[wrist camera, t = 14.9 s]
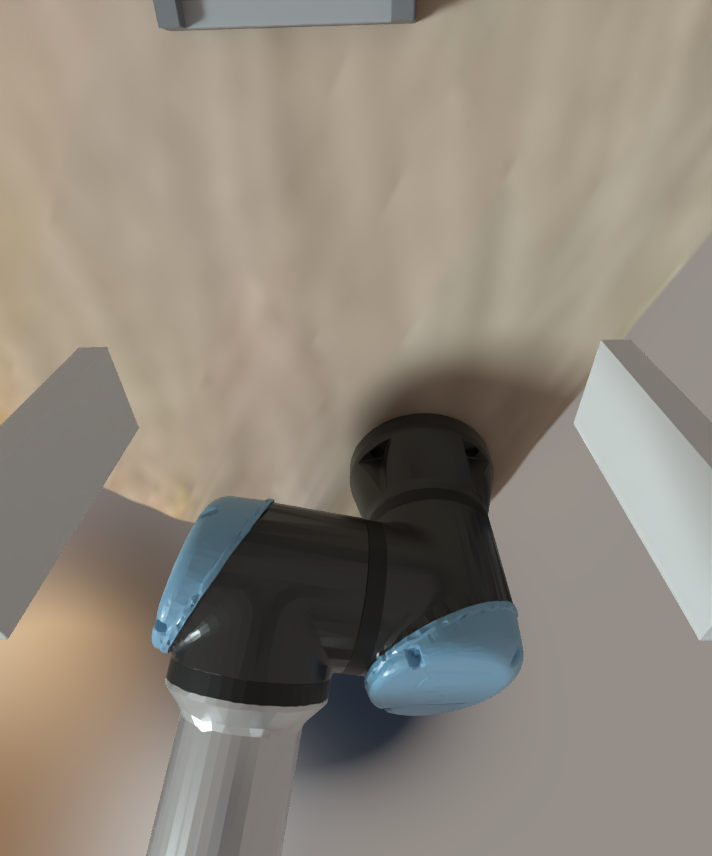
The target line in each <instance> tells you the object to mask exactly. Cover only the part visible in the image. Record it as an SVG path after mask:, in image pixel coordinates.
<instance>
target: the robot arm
mask: <svg viewBox="0 0 712 856" xmlns="http://www.w3.org/2000/svg"><path fill="white" fill-rule="evenodd" d="M574 426H575V427H576V429H577V431H578V432H579V434H580V436H581V437H582V439H583V441H584V443H585V445H586V446H587V448H588V450H589V451H590V453H591V455H592V456H593V458H594V460H595V462H596V463H597V465H598V467H599V469H600V470H601V472H602V473H603V475H604V477H605V479H606V480H607V482H608V484H609V485H610V487H611V489H612V491H613V493H614V494H615V496H616V497H617V499H618V501H619V503H620V505H621V506H622V508H623V510H624V511H625V513H626V515H627V517H628V518H629V520H630V522H631V523H632V525H633V527H634V528H635V530H636V532H637V534H638V535H639V537H640V539H641V541H642V542H643V544H644V546H645V547H646V549H647V550H648V553H649V554H650V556H651V558H652V559H653V561H654V563H655V565H656V566H657V568H658V570H659V571H660V573H661V575H662V577H663V578H664V580H665V582H666V583H667V585H668V587H669V589H670V590H671V592H672V594H673V595H674V597H675V599H676V601H677V602H678V604H679V606H680V607H681V609H682V611H683V612H684V614H685V616H686V618H687V619H688V621H689V623H690V625H691V626H692V628H693V629H694V631H695V633H696V635H697V637H698V638H699V640H712V423H711V422H710V421H709V420H708V419H707V418H706V417H705V416H704V415H703V414H702V413H701V412H700V411H699V410H698V408H697V407H696V406H694V405H693V403H692V402H691V401H690V400H689V399H688V398H687V397H686V396H685V395H684V394H683V393H682V392H681V391H680V390H679V389H678V388H677V387H676V386H675V385H674V384H673V383H672V382H671V381H670V380H669V379H668V378H667V377H666V376H665V375H664V373H663V372H662V371H661V370H660V369H659V368H658V367H657V366H656V365H655V364H654V363H653V362H652V361H651V360H650V359H649V358H648V357H647V356H646V355H645V354H644V353H643V352H642V351H641V350H640V349H639V348H638V347H637V346H636V345H635V344H634V343H633V342H632V340H601V342H600V345H599V348H598V351H597V354H596V357H595V360H594V363H593V366H592V369H591V372H590V375H589V378H588V381H587V384H586V387H585V390H584V393H583V396H582V399H581V402H580V405H579V408H578V411H577V414H576V417H575V420H574ZM138 429H139V427H138V425H137V422H136V420H135V417H134V414H133V412H132V409H131V407H130V404H129V402H128V399H127V397H126V394H125V392H124V389H123V386H122V384H121V381H120V379H119V376H118V374H117V371H116V369H115V366H114V364H113V361H112V358H111V356H110V353H109V351H108V348H107V347H91V348H78V349H77V350H76V351H75V352H74V353H73V354H72V355H71V356H70V357H69V358H68V359H67V360H66V361H65V362H64V363H63V364H62V365H61V366H60V367H59V368H58V369H57V370H56V371H55V372H54V373H53V374H52V375H51V376H50V377H49V378H48V379H47V380H46V381H45V382H44V383H43V384H42V385H41V386H40V387H39V388H38V389H37V390H36V391H35V392H34V393H33V394H32V395H31V396H30V397H29V398H28V399H27V400H26V401H25V402H24V403H23V404H22V405H21V406H20V407H19V408H18V409H17V410H16V411H15V412H14V413H13V414H12V415H11V416H10V417H9V418H8V419H7V420H6V421H5V422H4V423H3V424H2V425H1V426H0V639H8V638H9V636H10V635H11V633H12V632H13V630H14V628H15V627H16V625H17V623H18V622H19V620H20V619H21V617H22V615H23V614H24V612H25V611H26V609H27V608H28V606H29V604H30V603H31V601H32V599H33V598H34V596H35V595H36V593H37V591H38V590H39V588H40V587H41V585H42V583H43V582H44V580H45V579H46V577H47V575H48V574H49V572H50V570H51V569H52V567H53V566H54V564H55V562H56V560H57V559H58V557H59V556H60V554H61V553H62V551H63V549H64V548H65V546H66V545H67V543H68V541H69V539H70V538H71V537H72V535H73V533H74V532H75V530H76V528H77V527H78V525H79V524H80V522H81V520H82V519H83V517H84V516H85V514H86V512H87V511H88V509H89V508H90V506H91V504H92V503H93V501H94V500H95V498H96V496H97V495H98V493H99V491H100V490H101V488H102V487H103V485H104V483H105V482H106V480H107V479H108V477H109V475H110V474H111V472H112V471H113V469H114V467H115V466H116V464H117V462H118V461H119V459H120V458H121V456H122V454H123V453H124V451H125V450H126V448H127V446H128V445H129V443H130V442H131V440H132V438H133V437H134V435H135V433H136V432H137V430H138ZM492 484H493V466H492V462H491V459H490V456H489V453H488V450H487V447H486V445H485V443H484V441H483V440H482V438H481V437H480V436H479V435H478V434H477V433H476V432H475V431H474V430H473V429H472V428H470V427H469V426H467V425H466V424H464V423H462V422H460V421H458V420H455V419H453V418H449V417H446V416H441V415H434V414H416V415H408V416H403V417H399V418H396V419H393V420H390V421H388V422H386V423H384V424H382V425H380V426H378V427H377V428H375V429H374V430H372V431H371V432H370V433H368V434H367V435H366V436H365V437H364V438H363V439H362V440H361V442H360V443H359V444H358V446H357V447H356V449H355V451H354V453H353V456H352V459H351V464H350V487H351V492H352V495H353V498H354V500H355V502H356V505H357V507H358V509H359V512H360V514H361V516H362V518H358V517H352V516H347V515H341V514H335V513H330V512H324V511H318V510H312V509H307V508H301V507H295V506H290V505H284V504H278V503H274V500H273V499H267V500H257V499H249V498H241V497H233V496H227V497H221V498H219V499H216V500H215V501H213V502H212V503H210V504H209V505H208V506H207V507H206V508H205V509H204V510H203V512H202V513H201V514H200V516H199V517H198V519H197V521H196V522H195V524H194V526H193V527H192V529H191V531H190V533H189V535H188V537H187V539H186V541H185V543H184V545H183V547H182V549H181V551H180V554H179V556H178V558H177V560H176V562H175V565H174V567H173V569H172V572H171V574H170V577H169V579H168V582H167V585H166V588H165V590H164V593H163V596H162V599H161V601H160V605H159V608H158V612H157V619H156V622H155V625H154V628H153V632H152V642H153V645H154V646H155V647H156V648H158V649H160V650H161V652H162V653H169V652H170V651H171V660H170V664H169V668H168V672H167V676H166V680H165V683H166V686H167V687H168V689H169V691H170V692H171V694H172V695H173V697H174V698H175V700H176V702H177V703H178V705H179V708H180V716H179V720H178V725H177V729H176V733H175V737H174V741H173V745H172V750H171V754H170V758H169V762H168V766H167V771H166V775H165V779H164V783H163V787H162V791H161V796H160V800H159V804H158V808H157V812H156V816H155V821H154V825H153V829H152V833H151V837H150V842H149V846H148V850H147V854H146V856H281V853H282V847H283V841H284V835H285V829H286V822H287V816H288V810H289V804H290V797H291V792H292V785H293V779H294V773H295V767H296V761H297V755H298V748H299V742H300V736H301V730H302V726H303V724H304V723H305V722H306V721H307V720H308V719H309V718H311V717H312V716H313V715H314V714H315V713H316V712H318V711H319V710H320V709H321V708H322V707H323V706H325V705H326V703H327V700H328V694H329V687H330V681H331V676H332V674H333V673H344V674H352V675H360V676H364V677H365V689H366V690H367V692H368V696H369V698H370V700H371V702H372V703H373V704H374V705H375V706H377V707H378V708H384V709H385V710H386V711H387V712H389V713H394V714H398V715H411V716H415V715H416V716H419V715H432V714H440V713H446V712H450V711H455V710H459V709H463V708H466V707H469V706H472V705H475V704H478V703H480V702H483V701H485V700H487V699H489V698H491V697H493V696H494V695H496V694H498V693H499V692H500V691H502V690H504V689H505V688H506V687H507V686H508V685H509V684H510V683H511V682H512V681H513V680H514V679H515V678H516V676H517V675H518V673H519V671H520V669H521V666H522V662H523V647H522V641H521V636H520V630H519V625H518V620H517V617H518V613H517V609H516V607H515V606H514V604H513V602H512V598H511V595H510V591H509V588H508V584H507V581H506V577H505V574H504V570H503V567H502V563H501V560H500V556H499V552H498V549H497V545H496V542H495V538H494V535H493V531H492V528H491V525H490V521H489V518H488V512H489V505H490V498H491V491H492Z"/></svg>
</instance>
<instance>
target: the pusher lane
mask: <svg viewBox="0 0 712 856" xmlns="http://www.w3.org/2000/svg"><path fill="white" fill-rule="evenodd" d="M416 1H417V0H153V2H154V7H155V12H156V16H157V21H158V26H159V28H163V29H165V30H169V31H184V30H216V29H247V28H278V27H310V26H341V25H372V24H404V23H415V22H416Z"/></svg>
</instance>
